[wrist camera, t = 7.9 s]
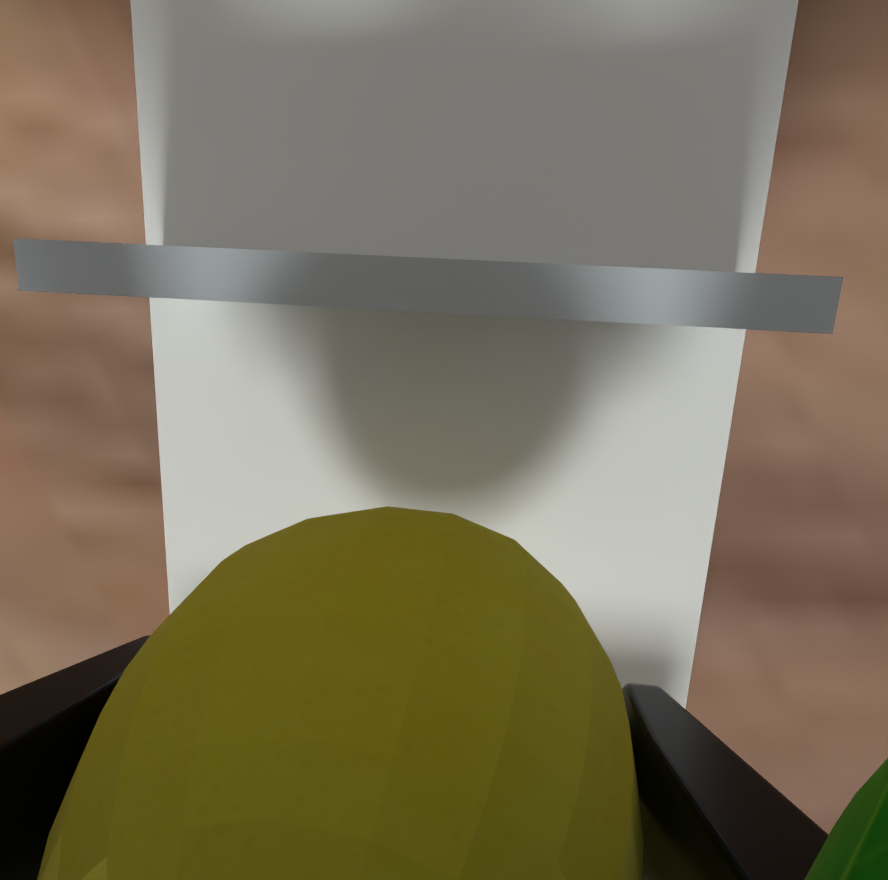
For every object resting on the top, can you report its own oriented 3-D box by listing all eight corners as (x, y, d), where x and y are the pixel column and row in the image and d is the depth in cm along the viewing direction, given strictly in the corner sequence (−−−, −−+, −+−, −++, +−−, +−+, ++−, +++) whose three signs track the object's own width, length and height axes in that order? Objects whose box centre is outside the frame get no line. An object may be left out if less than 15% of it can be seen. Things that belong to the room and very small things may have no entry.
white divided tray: (850, -491, 9) (1180, -1230, 4) (655, 789, 14) (721, 1022, 10) (137, -461, 10) (-167, -1058, 5) (201, 739, 15) (74, 933, 10)
